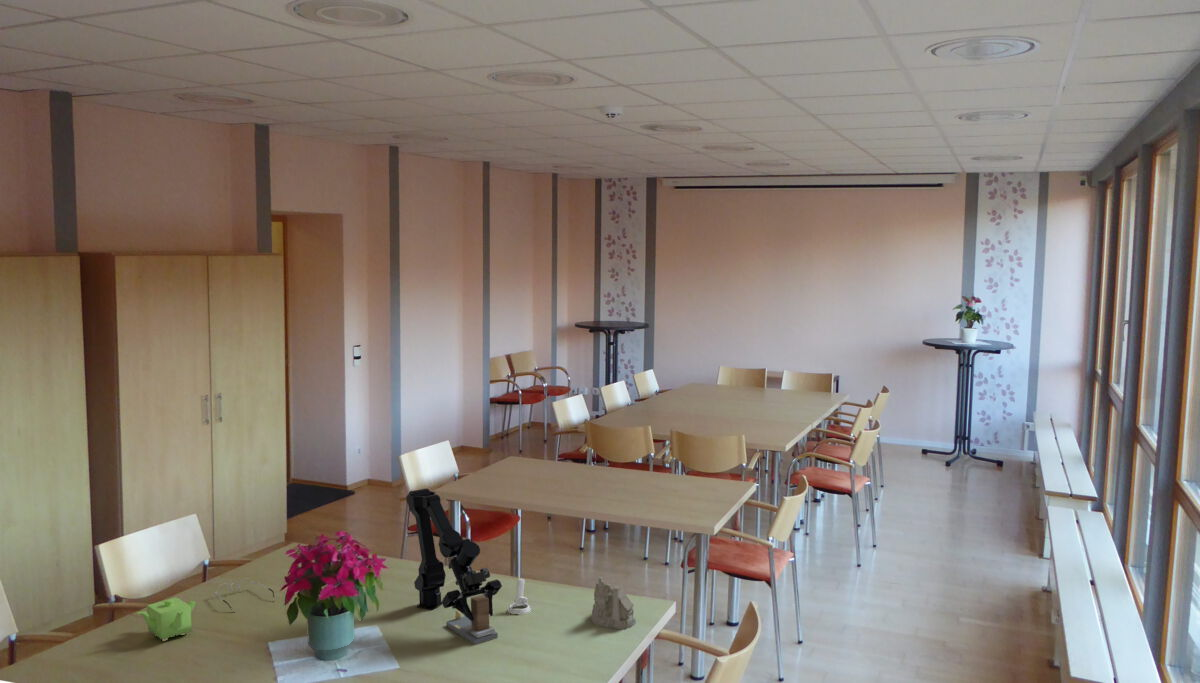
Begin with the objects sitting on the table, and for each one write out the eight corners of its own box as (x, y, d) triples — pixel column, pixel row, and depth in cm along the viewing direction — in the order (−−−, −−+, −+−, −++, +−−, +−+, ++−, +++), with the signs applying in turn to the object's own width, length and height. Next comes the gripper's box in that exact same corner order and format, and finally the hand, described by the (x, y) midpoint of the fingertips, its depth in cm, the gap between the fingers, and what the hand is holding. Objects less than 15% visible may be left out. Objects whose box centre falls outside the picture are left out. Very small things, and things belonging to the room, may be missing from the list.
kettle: (184, 644, 280) (182, 608, 279) (136, 646, 279) (134, 610, 278) (202, 624, 295) (200, 590, 294) (156, 626, 294) (154, 592, 293)
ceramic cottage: (622, 631, 286) (622, 584, 286) (581, 621, 296) (581, 575, 295) (650, 619, 298) (650, 573, 298) (609, 609, 308) (609, 565, 308)
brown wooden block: (466, 630, 284) (465, 597, 283) (483, 625, 287) (482, 592, 286) (477, 637, 278) (477, 603, 277) (494, 632, 282) (494, 599, 281)
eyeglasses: (256, 588, 328) (256, 574, 328) (278, 602, 314) (277, 588, 314) (210, 600, 317) (210, 586, 317) (231, 615, 304) (230, 600, 303)
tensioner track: (446, 625, 292) (445, 613, 292) (468, 619, 297) (467, 607, 297) (474, 644, 278) (474, 631, 277) (497, 637, 283) (497, 625, 282)
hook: (530, 585, 313) (535, 580, 307) (527, 621, 307) (532, 616, 301) (509, 582, 311) (513, 577, 305) (505, 618, 305) (509, 613, 299)
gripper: (445, 566, 278) (464, 613, 271) (498, 554, 290) (517, 598, 282) (434, 585, 285) (452, 630, 278) (486, 572, 297) (504, 615, 289)
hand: (482, 618), depth 281 cm, fingers open, 6 cm apart
